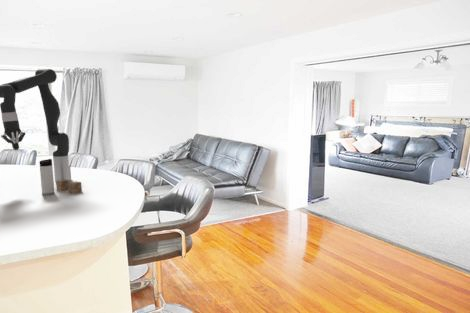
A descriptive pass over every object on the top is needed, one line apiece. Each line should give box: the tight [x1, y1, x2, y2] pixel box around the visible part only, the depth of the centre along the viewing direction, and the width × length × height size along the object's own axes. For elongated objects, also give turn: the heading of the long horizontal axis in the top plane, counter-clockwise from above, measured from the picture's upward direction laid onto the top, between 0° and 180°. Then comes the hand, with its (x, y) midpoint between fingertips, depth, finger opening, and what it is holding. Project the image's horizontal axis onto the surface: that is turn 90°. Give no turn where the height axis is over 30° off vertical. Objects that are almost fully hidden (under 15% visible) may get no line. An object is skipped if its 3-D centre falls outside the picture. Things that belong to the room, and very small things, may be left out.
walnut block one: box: [68, 181, 83, 195], centre depth 190 cm, size 5×5×6 cm
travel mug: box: [39, 158, 55, 196], centre depth 186 cm, size 6×7×20 cm
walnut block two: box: [55, 179, 70, 192], centre depth 196 cm, size 5×5×6 cm
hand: (16, 149), depth 191 cm, fingers closed
